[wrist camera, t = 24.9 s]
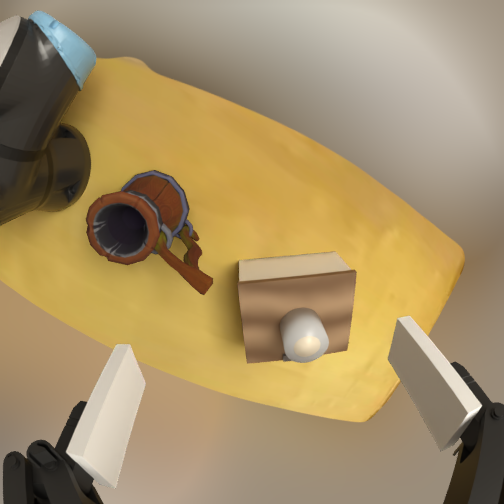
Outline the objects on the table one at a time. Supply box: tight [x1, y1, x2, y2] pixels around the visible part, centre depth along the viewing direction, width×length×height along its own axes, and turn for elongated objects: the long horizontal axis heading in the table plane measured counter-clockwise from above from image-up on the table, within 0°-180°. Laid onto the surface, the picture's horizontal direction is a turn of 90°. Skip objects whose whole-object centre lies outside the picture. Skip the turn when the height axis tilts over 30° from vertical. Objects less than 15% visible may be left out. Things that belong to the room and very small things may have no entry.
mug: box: [86, 170, 213, 295], centre depth 36 cm, size 18×12×15 cm, turn 53°
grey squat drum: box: [280, 308, 329, 363], centre depth 38 cm, size 6×6×5 cm
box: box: [239, 252, 351, 281], centre depth 45 cm, size 14×16×8 cm
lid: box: [238, 270, 356, 363], centre depth 40 cm, size 14×16×1 cm
